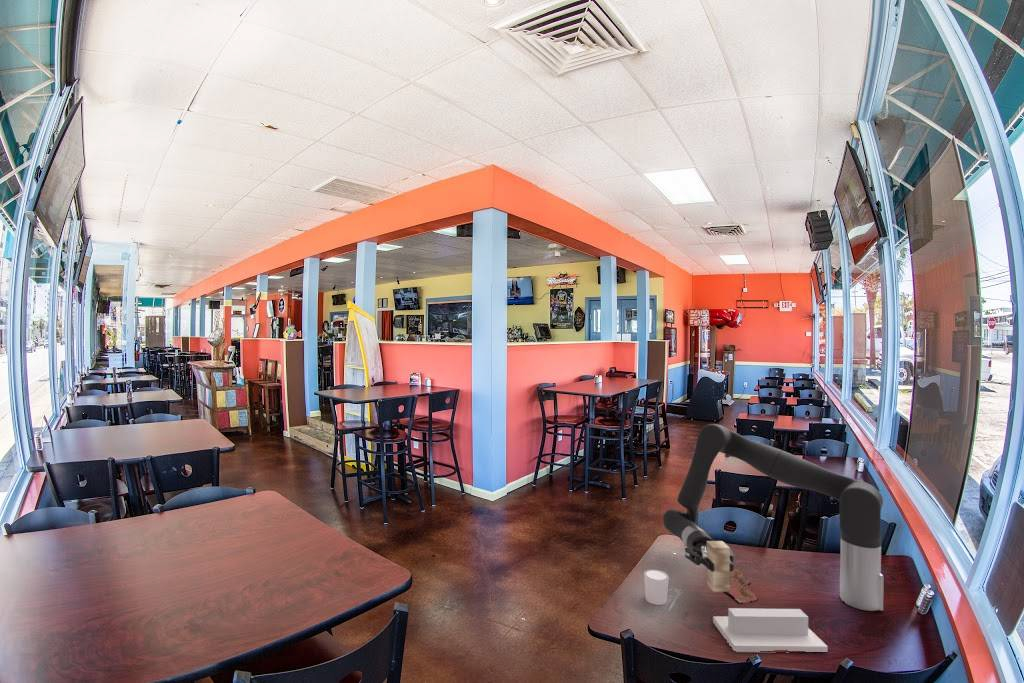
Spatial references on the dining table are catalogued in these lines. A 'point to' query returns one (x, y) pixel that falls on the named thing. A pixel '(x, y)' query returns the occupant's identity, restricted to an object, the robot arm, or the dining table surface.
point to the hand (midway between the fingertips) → (722, 568)
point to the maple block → (719, 566)
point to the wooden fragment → (743, 592)
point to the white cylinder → (656, 586)
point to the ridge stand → (768, 630)
